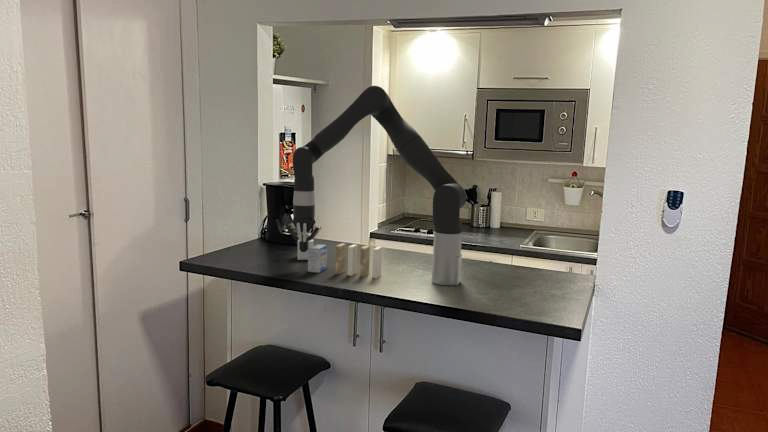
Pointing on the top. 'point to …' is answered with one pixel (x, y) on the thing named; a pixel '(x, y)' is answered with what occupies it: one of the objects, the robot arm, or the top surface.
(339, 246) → the domino
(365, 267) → the domino
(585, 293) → the top surface
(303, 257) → the skincare box
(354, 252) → the domino
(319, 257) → the medicine box
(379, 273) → the domino
